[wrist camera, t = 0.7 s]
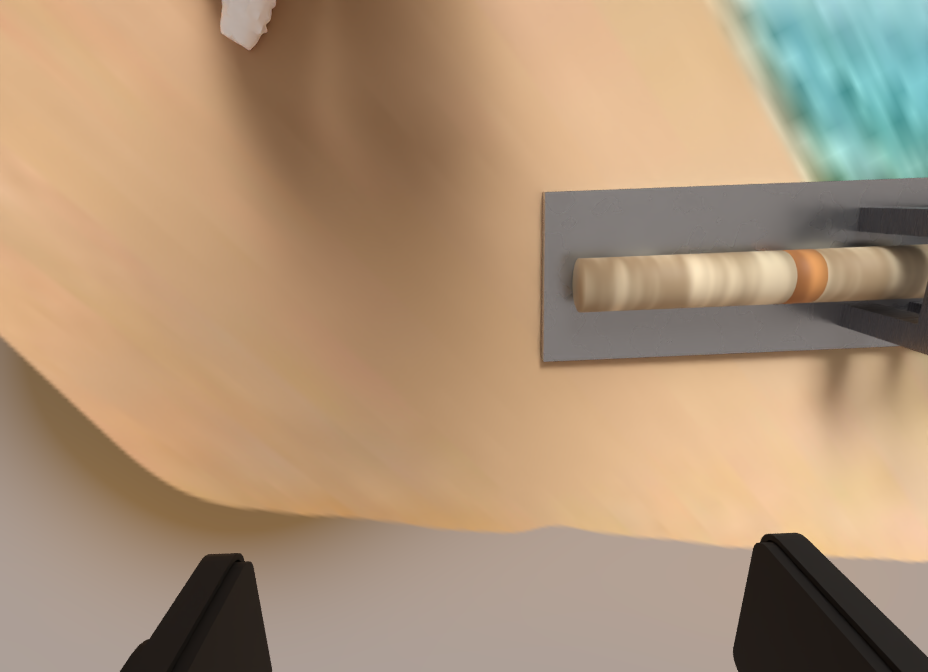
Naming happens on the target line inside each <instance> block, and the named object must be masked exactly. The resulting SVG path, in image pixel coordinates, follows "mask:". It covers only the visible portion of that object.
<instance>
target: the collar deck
mask: <svg viewBox="0 0 928 672" xmlns="http://www.w3.org/2000/svg"><path fill="white" fill-rule="evenodd" d="M922 244H928V178H906V179H880V180H853V181H827V182H801V183H775V184H748V185H722V186H696V187H670V188H643V189H617V190H591V191H565V192H543V230H542V346H541V358H542V360H543V362H548V361H571V360H594V359H616V358H639V357H661V356H684V355H707V354H729V353H752V352H775V351H797V350H820V349H842V348H865V347H888V346H902V347H905V348H908V349H912V350H915V351H918V352H921V353H924V354H927V355H928V281H927V285H926V290H925V294H924V298H910V299H887V300H863V301H839V302H816V303H792V304H769V305H745V306H722V307H698V308H675V309H651V310H628V311H604V312H581V313H580V312H578V311H577V309H576V307H575V304H574V299H573V289H572V279H573V270H574V265H575V262H576V260H577V259H579V258H602V257H626V256H651V255H676V254H700V253H725V252H750V251H774V250H799V249H824V248H848V247H873V246H898V245H922Z"/></svg>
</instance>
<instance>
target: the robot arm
mask: <svg viewBox="0 0 928 672" xmlns="http://www.w3.org/2000/svg"><path fill="white" fill-rule="evenodd" d="M733 656H734V661H735V664H736V667H737V670H738V672H928V657H927V656H926V655H925V654H924V653H923V652H922V651H921V650H920V649H919V648H918V647H917V646H916V645H915V644H914V643H913V642H912V641H910V639H909V638H908V637H907V636H906V635H904V633H903V632H902V631H901V630H900V629H898V627H896V626H895V625H894V624H893V623H892V622H891V621H890V620H889V619H888V618H887V617H886V616H885V615H884V614H883V613H882V612H881V611H880V610H879V609H878V608H877V607H876V606H875V605H874V604H873V603H872V602H871V601H870V600H869V599H868V598H867V597H866V596H865V595H864V594H863V593H862V592H861V591H860V590H859V589H858V588H857V587H856V586H855V585H854V584H853V583H852V582H851V581H850V580H849V579H848V578H847V577H846V576H845V575H844V574H842V573H841V572H840V571H839V570H838V569H837V568H836V567H835V566H834V565H833V564H832V563H831V562H830V561H829V560H828V559H827V558H826V557H825V556H824V555H823V554H822V553H821V552H820V551H819V550H818V549H817V548H816V547H815V546H814V545H813V544H812V543H811V542H810V541H809V540H808V539H807V538H805V537H804V536H803V535H801V534H798V533H780V534H765V535H764V536H763V537H762V539H761V541H760V543H756V544H755V545H754V548H753V552H752V557H751V563H750V567H749V573H748V577H747V582H746V587H745V592H744V598H743V603H742V607H741V612H740V617H739V623H738V627H737V632H736V637H735V642H734V647H733ZM120 672H272V667H271V661H270V656H269V650H268V644H267V639H266V634H265V628H264V623H263V617H262V612H261V606H260V600H259V595H258V590H257V584H256V578H255V573H254V568H253V564H252V563H251V562H245V561H244V558H243V556H242V555H241V554H239V553H231V554H208V555H206V556H205V557H204V558H203V559H202V560H201V562H200V563H199V565H198V566H197V568H196V569H195V571H194V572H193V574H192V575H191V577H190V578H189V580H188V581H187V583H186V585H185V586H184V587H183V589H182V590H181V592H180V593H179V595H178V596H177V598H176V599H175V601H174V603H173V604H172V606H171V607H170V609H169V610H168V612H167V613H166V615H165V616H164V618H163V619H162V621H161V622H160V624H159V625H158V627H157V629H156V630H155V631H154V633H153V634H152V636H151V638H150V639H148V640H146V641H144V642H143V643H141V644H140V645H139V646H138V647H137V648H136V650H135V651H134V652H133V653H132V654H131V656H130V657H129V659H128V660H127V662H126V663H125V665H124V666H123V668H122V669H121V671H120Z"/></svg>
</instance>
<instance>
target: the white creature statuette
mask: <svg viewBox="0 0 928 672" xmlns="http://www.w3.org/2000/svg"><path fill="white" fill-rule="evenodd" d="M222 6H223V7H222V11H221V12H222V16H221V20H220V28H221V33H222V34H223V35H225V36H226V37H228V38H229V39H231V40H232V41H234V42H236V43H237V44H239V45H242V46H243V47H244V48H246V49H247V50H251V49H252V48H253V47H254V46H255V45H256V44H257V42H258V40H259V38H260V37H261V35H262V34H263V33H267V31H268V30H267V27H266V24H267V23H269V21H270V20H271V15H272V9H273V8H274V7H275V6H276V0H222Z"/></svg>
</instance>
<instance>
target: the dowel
mask: <svg viewBox="0 0 928 672" xmlns="http://www.w3.org/2000/svg"><path fill="white" fill-rule="evenodd" d="M927 281H928V244H922V245H898V246H873V247H848V248H824V249H799V250H774V251H750V252H725V253H700V254H676V255H651V256H626V257H602V258H579V259H577V260H576V262H575V265H574V270H573V279H572V289H573V299H574V304H575V307H576V309H577V311H578V312H580V313H581V312H604V311H628V310H651V309H675V308H698V307H722V306H745V305H769V304H792V303H816V302H839V301H863V300H887V299H910V298H924V294H925V290H926V285H927Z"/></svg>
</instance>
